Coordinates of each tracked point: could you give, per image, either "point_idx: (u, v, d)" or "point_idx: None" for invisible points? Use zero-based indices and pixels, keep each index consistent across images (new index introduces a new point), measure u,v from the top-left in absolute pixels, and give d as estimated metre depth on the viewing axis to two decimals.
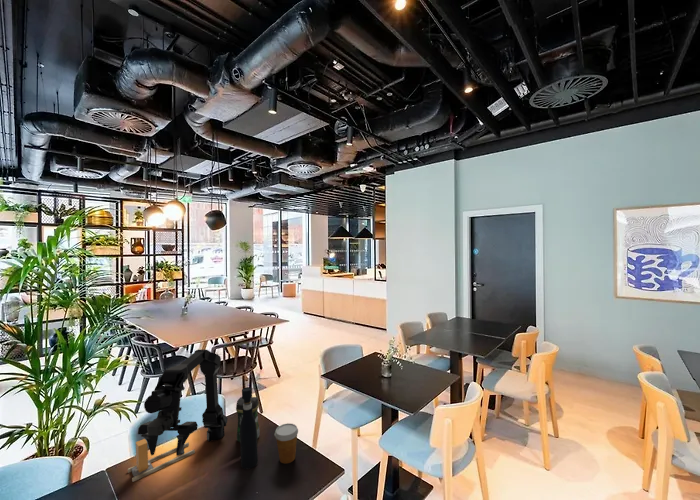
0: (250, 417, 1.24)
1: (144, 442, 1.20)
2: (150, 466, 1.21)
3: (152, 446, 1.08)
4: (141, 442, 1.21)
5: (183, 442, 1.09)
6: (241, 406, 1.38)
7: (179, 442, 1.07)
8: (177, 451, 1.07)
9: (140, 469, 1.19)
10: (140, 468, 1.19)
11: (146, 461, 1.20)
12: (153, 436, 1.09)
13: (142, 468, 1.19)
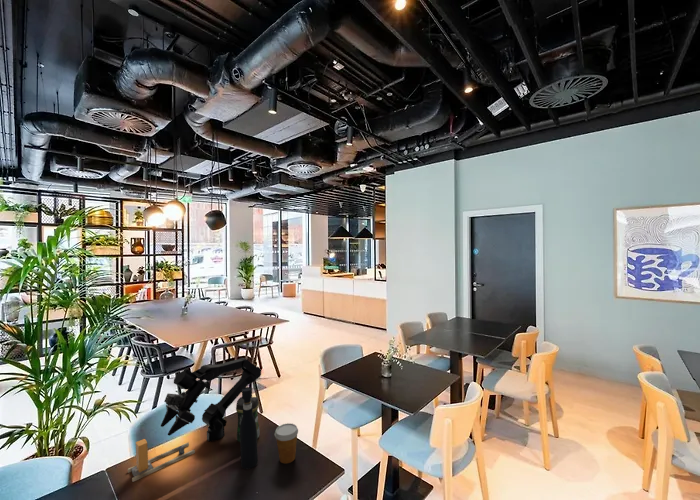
0: (250, 417, 1.24)
1: (144, 442, 1.20)
2: (150, 466, 1.21)
3: (165, 419, 1.31)
4: (141, 442, 1.21)
5: (177, 427, 1.25)
6: (241, 406, 1.38)
7: (174, 423, 1.24)
8: (169, 430, 1.23)
9: (140, 469, 1.19)
10: (140, 468, 1.19)
11: (146, 461, 1.20)
12: (171, 412, 1.33)
13: (142, 468, 1.19)
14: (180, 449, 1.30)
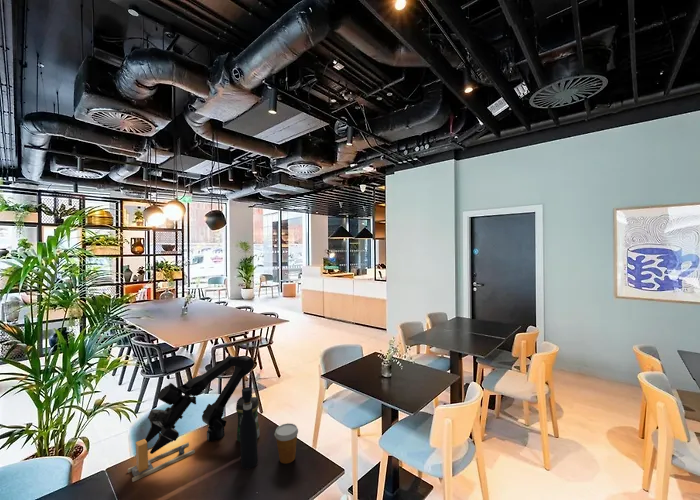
0: (250, 417, 1.24)
1: (144, 442, 1.20)
2: (150, 466, 1.21)
3: (149, 435, 1.26)
4: (141, 442, 1.21)
5: (160, 445, 1.20)
6: (241, 406, 1.38)
7: (157, 441, 1.20)
8: (152, 448, 1.19)
9: (140, 469, 1.19)
10: (140, 468, 1.19)
11: (146, 461, 1.20)
12: (155, 428, 1.28)
13: (142, 468, 1.19)
14: (180, 449, 1.30)
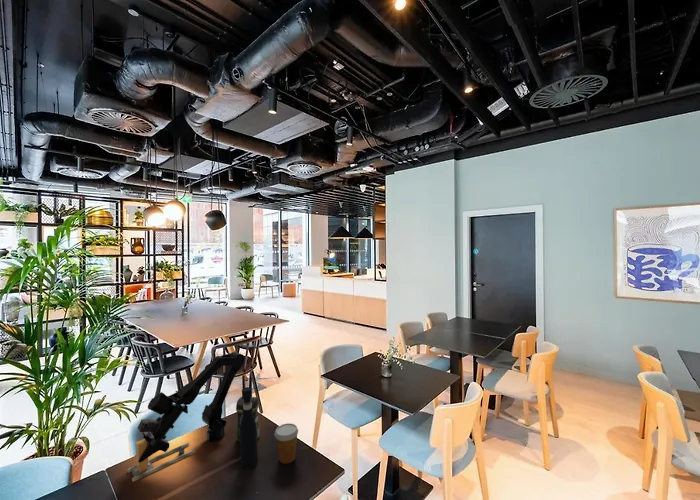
0: (250, 417, 1.24)
1: (144, 442, 1.20)
2: (150, 466, 1.21)
3: None
4: (141, 442, 1.21)
5: (149, 453, 1.20)
6: (241, 406, 1.38)
7: (146, 449, 1.19)
8: (140, 457, 1.18)
9: (140, 469, 1.19)
10: (140, 468, 1.19)
11: (146, 461, 1.20)
12: (147, 440, 1.24)
13: (142, 468, 1.19)
14: (180, 449, 1.30)
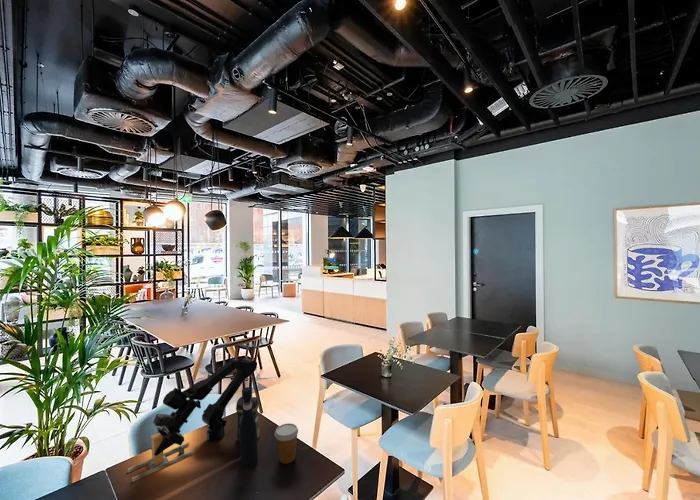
0: (250, 417, 1.24)
1: (160, 436, 1.24)
2: (165, 459, 1.25)
3: None
4: (156, 436, 1.24)
5: (164, 446, 1.23)
6: (241, 406, 1.38)
7: (161, 443, 1.23)
8: (156, 450, 1.22)
9: (156, 462, 1.22)
10: (156, 461, 1.22)
11: (161, 454, 1.24)
12: (162, 434, 1.28)
13: (157, 461, 1.23)
14: (180, 449, 1.30)
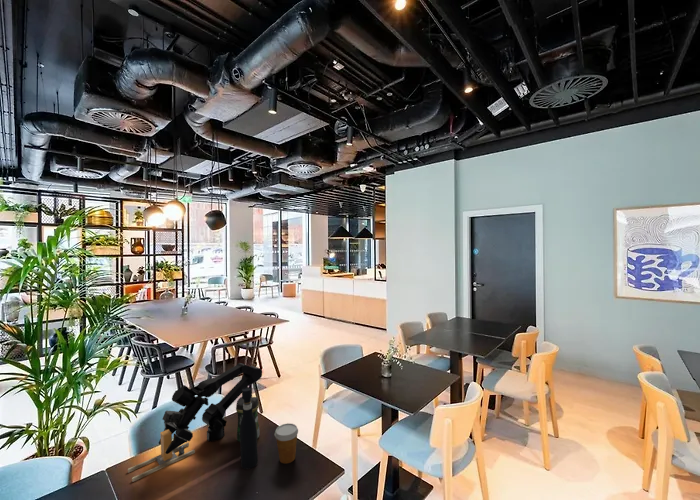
0: (250, 417, 1.24)
1: (169, 432, 1.27)
2: (174, 455, 1.28)
3: None
4: (165, 432, 1.27)
5: (175, 445, 1.24)
6: (241, 406, 1.38)
7: (172, 441, 1.24)
8: (167, 449, 1.23)
9: (165, 458, 1.25)
10: (165, 457, 1.25)
11: None
12: (169, 429, 1.32)
13: (166, 456, 1.25)
14: (180, 449, 1.30)
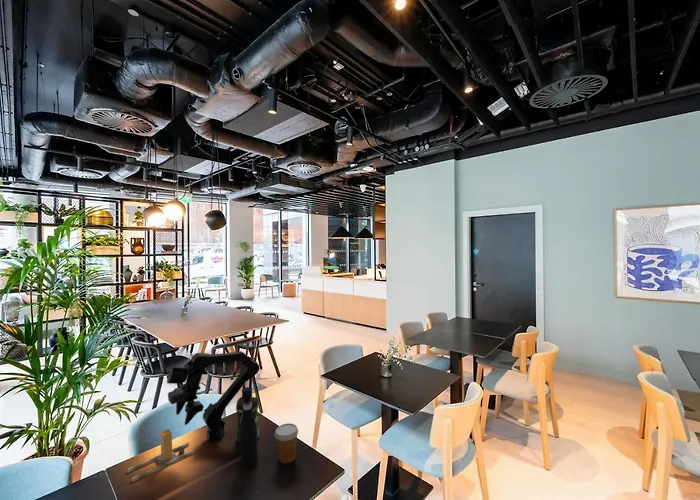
0: (250, 417, 1.24)
1: (169, 432, 1.27)
2: (174, 455, 1.28)
3: (178, 408, 1.38)
4: (165, 432, 1.27)
5: (191, 416, 1.32)
6: (241, 406, 1.38)
7: (186, 415, 1.31)
8: (185, 421, 1.32)
9: (165, 458, 1.25)
10: (165, 457, 1.25)
11: (170, 450, 1.26)
12: (180, 400, 1.39)
13: (166, 456, 1.25)
14: (180, 449, 1.30)
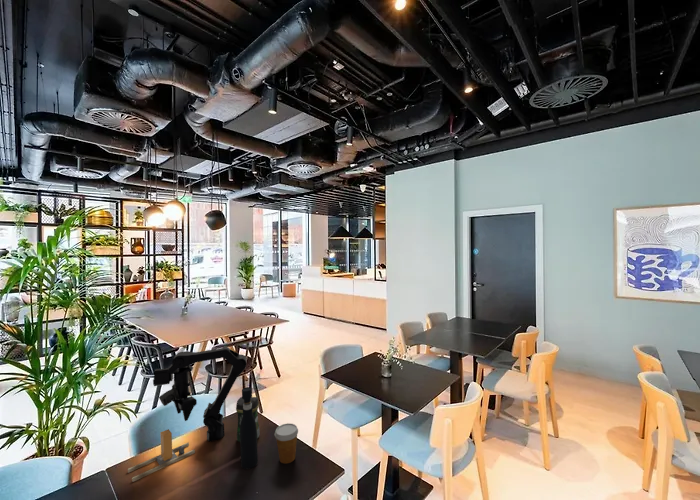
0: (250, 417, 1.24)
1: (169, 432, 1.27)
2: (174, 455, 1.28)
3: (177, 407, 1.41)
4: (165, 432, 1.27)
5: (188, 412, 1.34)
6: (241, 406, 1.38)
7: (183, 412, 1.33)
8: (184, 418, 1.34)
9: (165, 458, 1.25)
10: (165, 457, 1.25)
11: (170, 450, 1.26)
12: (178, 400, 1.41)
13: (166, 456, 1.25)
14: (180, 449, 1.30)
